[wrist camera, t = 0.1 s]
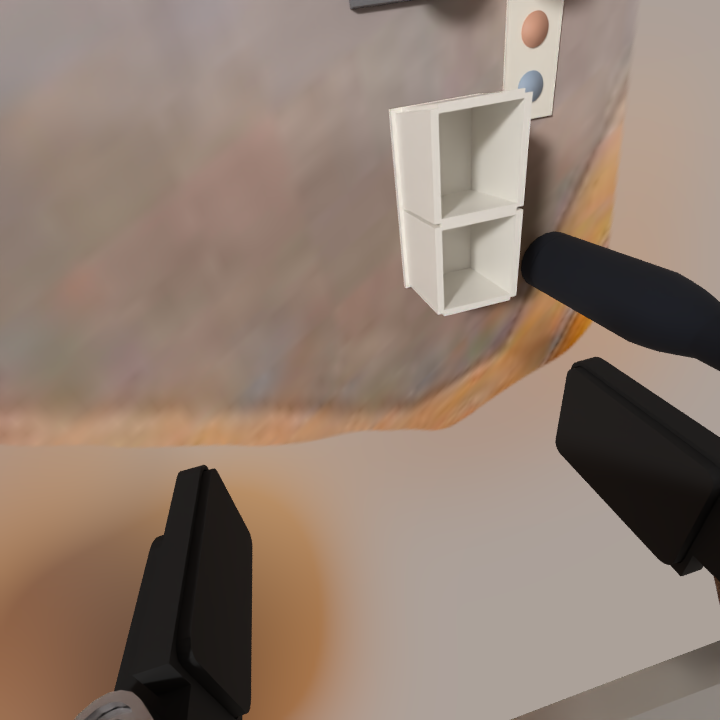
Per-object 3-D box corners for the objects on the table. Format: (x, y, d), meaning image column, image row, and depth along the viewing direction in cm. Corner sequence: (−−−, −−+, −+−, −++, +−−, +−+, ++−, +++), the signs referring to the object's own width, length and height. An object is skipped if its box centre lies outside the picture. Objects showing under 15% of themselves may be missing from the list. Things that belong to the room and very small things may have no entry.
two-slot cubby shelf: (388, 109, 33) (425, 104, 26) (478, 93, 34) (538, 84, 27) (404, 286, 42) (434, 318, 35) (475, 269, 43) (519, 298, 36)
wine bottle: (519, 243, 43) (891, 408, 18) (572, 222, 43) (1014, 357, 18) (522, 293, 46) (835, 491, 21) (570, 275, 46) (938, 448, 21)
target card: (507, -6, 31) (510, -7, 31) (563, -14, 32) (566, -16, 31) (501, 124, 36) (503, 124, 36) (549, 115, 36) (552, 114, 36)
